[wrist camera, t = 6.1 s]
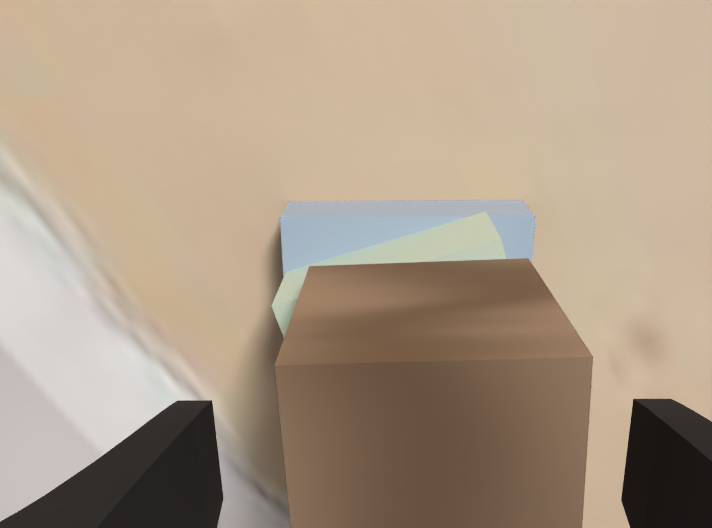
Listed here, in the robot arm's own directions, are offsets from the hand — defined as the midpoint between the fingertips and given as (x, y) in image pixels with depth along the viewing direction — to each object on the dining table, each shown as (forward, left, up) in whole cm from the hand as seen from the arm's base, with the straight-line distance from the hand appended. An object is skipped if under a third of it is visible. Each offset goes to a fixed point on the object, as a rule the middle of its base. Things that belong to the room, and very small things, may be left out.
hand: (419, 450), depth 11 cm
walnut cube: (0, 0, -3) cm, 3 cm away
